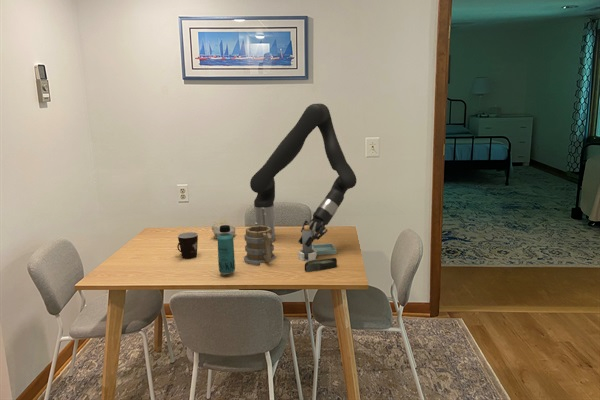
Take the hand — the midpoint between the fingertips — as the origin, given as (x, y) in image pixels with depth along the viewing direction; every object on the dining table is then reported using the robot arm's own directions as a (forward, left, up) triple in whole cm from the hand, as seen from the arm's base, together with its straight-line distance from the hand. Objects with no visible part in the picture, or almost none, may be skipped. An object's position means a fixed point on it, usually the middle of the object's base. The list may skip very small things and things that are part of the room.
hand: (303, 244), depth 196 cm
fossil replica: (-35, +40, -8) cm, 54 cm away
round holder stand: (+2, +1, -7) cm, 8 cm away
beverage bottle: (-31, -10, -8) cm, 34 cm away
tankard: (-17, +1, -8) cm, 19 cm away
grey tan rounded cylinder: (+2, +1, -6) cm, 7 cm away
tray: (+10, +9, -7) cm, 15 cm away
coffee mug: (-50, +13, -8) cm, 53 cm away
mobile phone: (+5, -12, -8) cm, 16 cm away
